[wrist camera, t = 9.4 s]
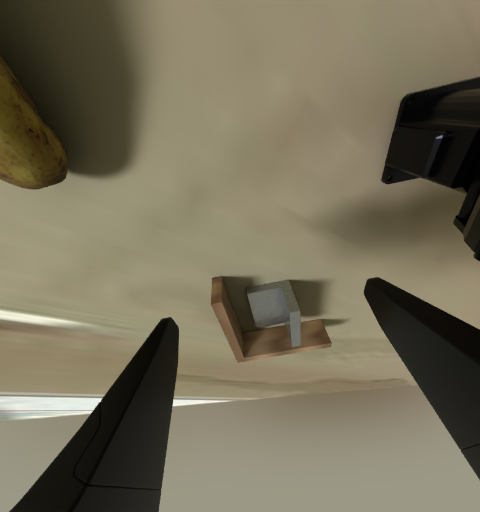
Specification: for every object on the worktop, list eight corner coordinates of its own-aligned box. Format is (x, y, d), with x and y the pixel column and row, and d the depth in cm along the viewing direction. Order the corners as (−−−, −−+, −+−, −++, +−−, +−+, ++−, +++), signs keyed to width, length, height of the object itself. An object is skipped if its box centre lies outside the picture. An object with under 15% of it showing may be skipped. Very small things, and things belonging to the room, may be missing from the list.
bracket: (290, 314, 30) (300, 345, 26) (255, 320, 31) (260, 352, 27) (288, 278, 26) (300, 310, 22) (246, 287, 26) (250, 319, 22)
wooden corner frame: (327, 255, 23) (344, 279, 20) (320, 323, 32) (330, 347, 29) (212, 278, 24) (210, 304, 21) (236, 338, 33) (237, 362, 30)
